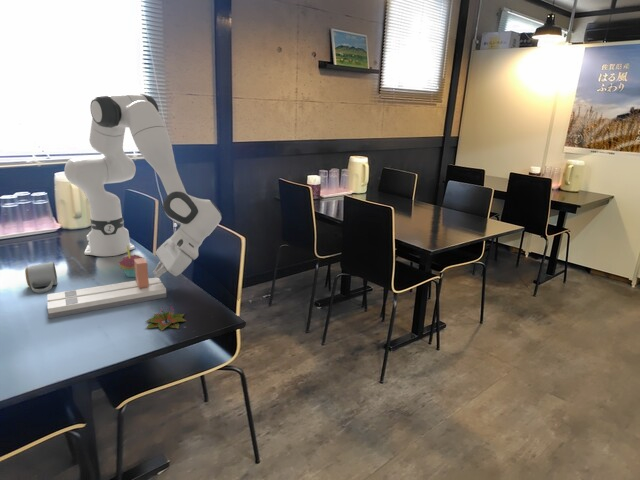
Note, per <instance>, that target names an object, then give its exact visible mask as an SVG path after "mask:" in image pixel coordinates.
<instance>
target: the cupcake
mask: <svg viewBox="0 0 640 480" xmlns="http://www.w3.org/2000/svg"><path fill="white" fill-rule="evenodd" d="M126 253H127V256H124V257H123V258H122V259H120V261H119V268H120V269H122V270H123V272H124V273H125V275H126V277H127V278H136V275H135V264H134V259H138V258H143V257H142V256H140V255H137V254H131V252H130V250H129V247H128V246H127V252H126Z"/></svg>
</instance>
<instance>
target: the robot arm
mask: <svg viewBox="0 0 640 480" xmlns="http://www.w3.org/2000/svg"><path fill="white" fill-rule="evenodd" d="M89 108H90V114H91V118H92V119H91V125H90V132H89V144H90V146H91V147H92V149H93V150H95V151H96V152H98V153H99V154H100V155H86V156H85V155H84V156H78V157H77V156H76V157H74V158H73V157H72V158H70V159H68V160H67V161H66V163H65V165H64V169H63V170H64V176H65V177H66V178H65V179H67V181H68V182H69V183H70V184H72V185H73V186H75V187H77V188H78V189H80V190H81V192H82V193H83V195H85V196H86V199H87V200H88V206H89V210H90V217H91V218H90V221H89V222H90V228H91V230H90V231H89V232H88V234H86V241H88V242H87V245H86V248H85V250H84V255H85V256H87V255H88V256H89V255H90V256H96V257H112V256H113V257H114V256H119V255H122V254H126V253H128V252H127V246H128V247H129V251H132V250H135V249H136V247H135V245H134V244H133V243H132V242H131V241H130V240H131V239H130V234H129V230H128V229H127V228H126V227H125V223H124V222H125V220H124V217H123V216H122V215H123V214H122V205H121V199H120V197H118V196H117V194H114V193H113V192H110V191H107V190H106V189H105V185H106V184H117V183H124V182H127V181H129V180H132V179H133V178H135V177H134V176H135V175H136V169H137V167H136V165H135V162H134V160H133V159H132V158H131V157H130V156H128V155H127V154H126V153H125V151H124V138H125V132H126V128H129V131H130V134H131V136H132V139H133V141H134V144H135V146H136V148H137V150H138V151H139V152H140V155H141V156H142V157H143V159H144V160H145V161H146V163H148V164H149V165H150V166H151V168H153V170H154V171H155V172H156V174H157V176H158V177H159V178H160V181H161V183H162V185H163V187H164V190H165V192H166V196H165V198H164V200H163V203H162V207H163V211H164V213H165V215H166V216H167V217H168V218H169V219H171V220H172V222H173V223H175V224H176V225H179V227H178V229H177V230H175V232H174V233H173V234H172V235H171V236H170V237H169V238H168V239H166V240H165V241H164V242H163V243H162V244H161V245H160V246H159V247H158V248H157V249H156V251H155V255H156V256H157V258H158V259H159V260H160V261H158V262H157V265H156V266H155V268H154V270H153V271H152V275H153V276H154V278H155V277H157V278H159V279H160V277H161V276H162V275H164V274H165V273H167V272H168V273H170V274H171V275H172V276H174V277H178V276H180V275H181V274H182V273H183V272H184V271H185V270H186V269H187V268H188V267H189V265H190V264H191V263H192V261H195V260H196V259H197V258H198V257H199V255H200V254H199V247H201V245H202V244H203V241H205V239H206V238H207V237H208V236H210V235H211V233H213V231H214V230H216V228H217V226H218V225H219V224H220V222H221V221H222V212H221V210H220V209H219V208H218V207H217V205H216V204H215V203H214V202H213V201H212V200H210V199H204V198H199V197H195V196H193V195H190V194H188V192H187V191H186V188H185V186H184V183H183V182H182V179H181V176H180V174H179V171H178V169H177V163H176V161H175V155H174V151H173V145H172V141H171V137H170V134H169V131H168V129H167V126H166V124H165V122H164V120H163V117H162V116H161V114H160V113H159V112H160V111H159V110H160V109H159V106H158V103H157V100H155V98H154V97H152V96H150V95H149V94H144V93H140V94H138V93H130V92H129V93H127V92H126V93H111V94H105V93H104V94H99V95H96V96H94V97H93V98H92V100H91V102H90V107H89Z"/></svg>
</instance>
